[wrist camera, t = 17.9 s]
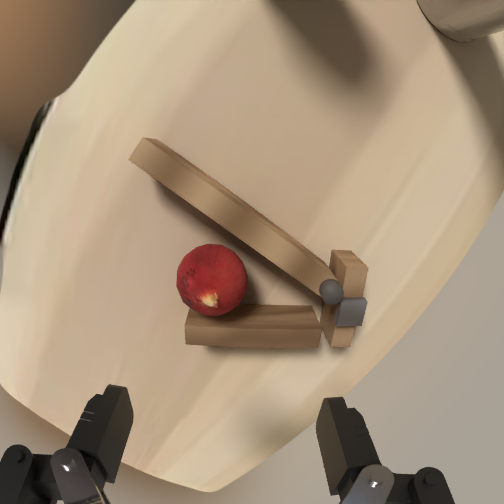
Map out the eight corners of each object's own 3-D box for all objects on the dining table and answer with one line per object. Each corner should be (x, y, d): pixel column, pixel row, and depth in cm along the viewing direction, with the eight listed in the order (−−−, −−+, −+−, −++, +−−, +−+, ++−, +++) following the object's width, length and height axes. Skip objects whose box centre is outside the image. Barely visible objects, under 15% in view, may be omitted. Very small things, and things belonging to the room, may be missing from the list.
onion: (196, 298, 30) (185, 345, 22) (174, 245, 28) (153, 279, 21) (253, 281, 30) (259, 326, 22) (234, 225, 28) (233, 254, 20)
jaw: (331, 267, 29) (349, 291, 24) (317, 282, 30) (332, 309, 24) (156, 139, 25) (137, 136, 20) (144, 158, 25) (122, 160, 20)
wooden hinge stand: (190, 243, 28) (180, 263, 23) (352, 250, 29) (373, 271, 24) (192, 318, 31) (184, 349, 26) (339, 322, 32) (354, 351, 26)
